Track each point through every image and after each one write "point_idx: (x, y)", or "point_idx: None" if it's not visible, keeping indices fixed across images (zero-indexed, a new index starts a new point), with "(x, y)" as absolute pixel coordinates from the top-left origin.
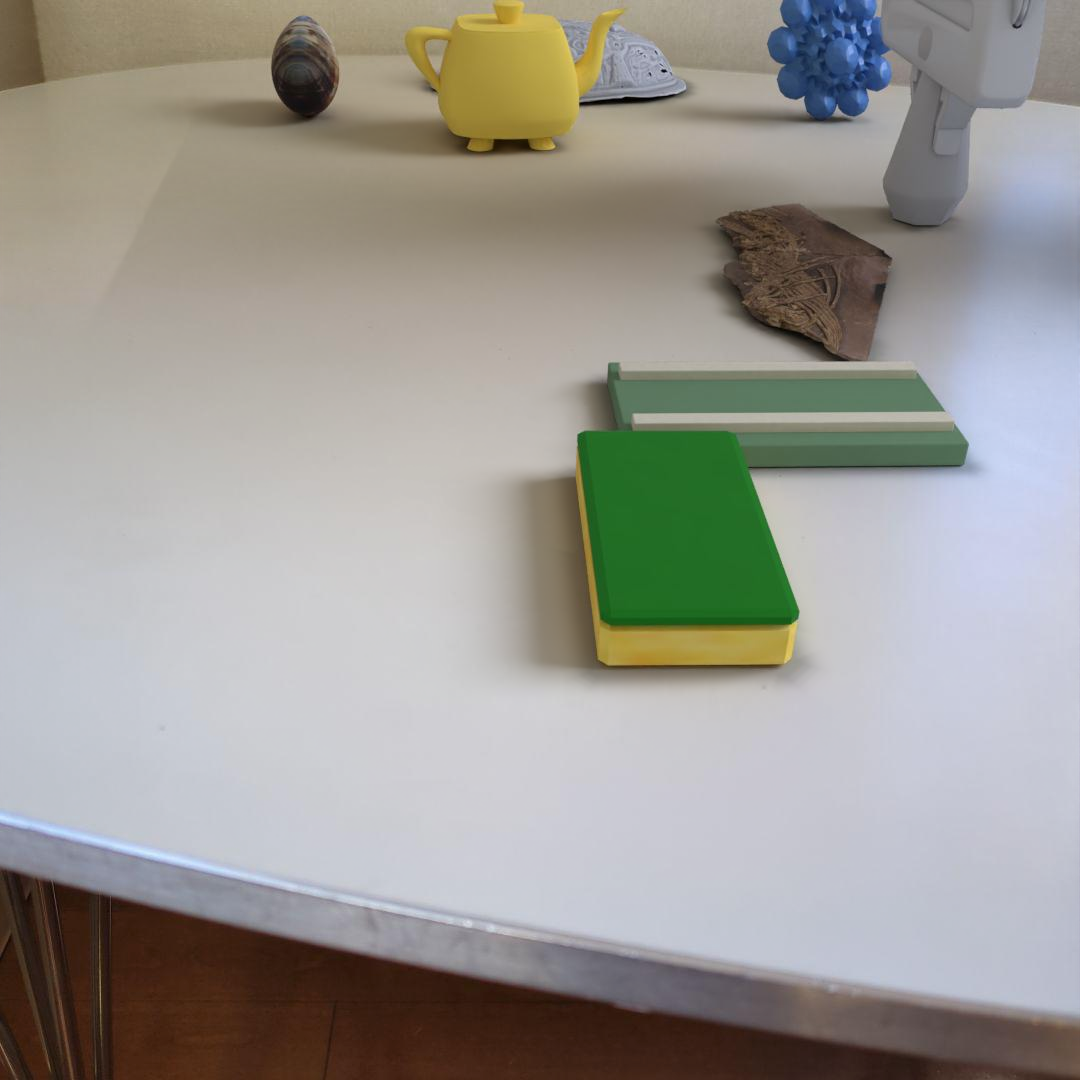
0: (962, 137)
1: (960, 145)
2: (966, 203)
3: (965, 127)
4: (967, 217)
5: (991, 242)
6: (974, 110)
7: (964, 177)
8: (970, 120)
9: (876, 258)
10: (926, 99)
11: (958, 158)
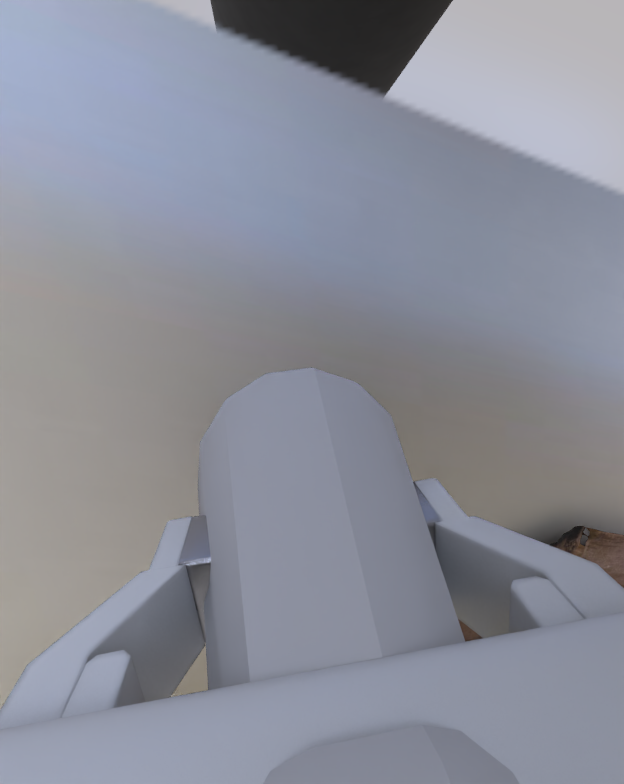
0: (453, 499)
1: (442, 486)
2: (161, 306)
3: (478, 518)
4: (271, 326)
5: (430, 311)
6: (572, 557)
7: (370, 405)
8: (341, 475)
9: (591, 552)
10: None
11: (402, 457)
